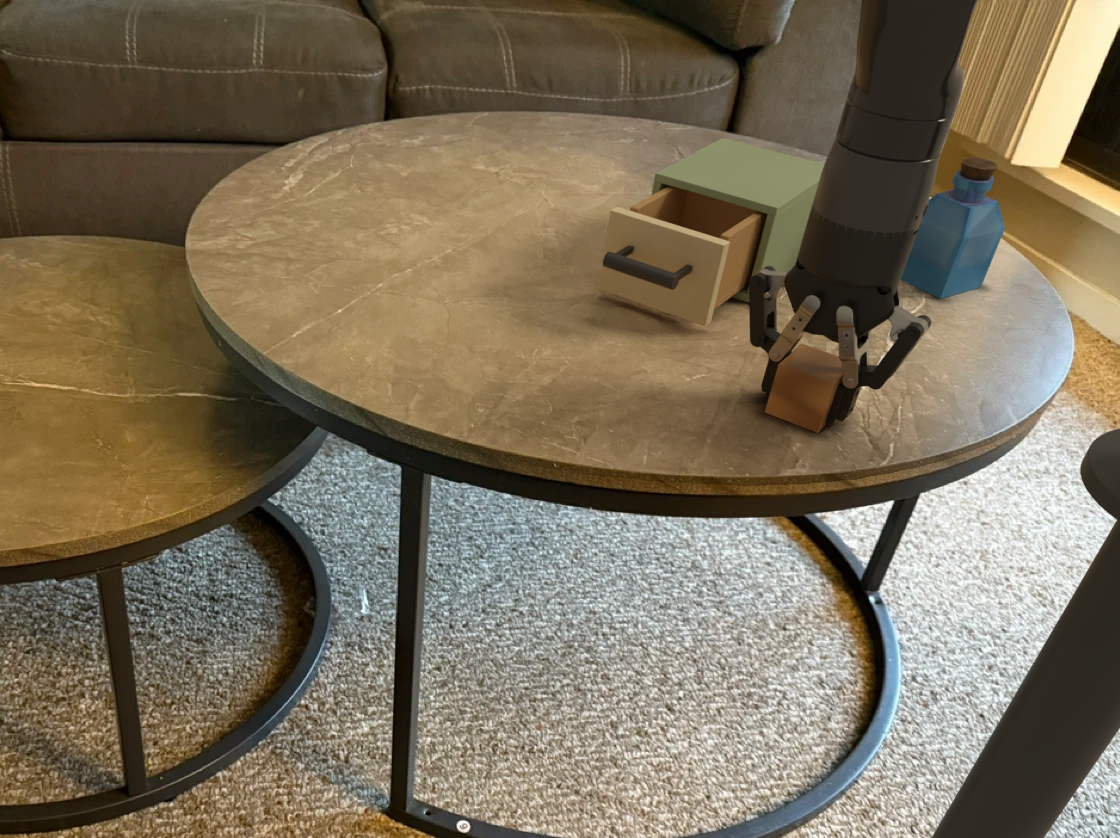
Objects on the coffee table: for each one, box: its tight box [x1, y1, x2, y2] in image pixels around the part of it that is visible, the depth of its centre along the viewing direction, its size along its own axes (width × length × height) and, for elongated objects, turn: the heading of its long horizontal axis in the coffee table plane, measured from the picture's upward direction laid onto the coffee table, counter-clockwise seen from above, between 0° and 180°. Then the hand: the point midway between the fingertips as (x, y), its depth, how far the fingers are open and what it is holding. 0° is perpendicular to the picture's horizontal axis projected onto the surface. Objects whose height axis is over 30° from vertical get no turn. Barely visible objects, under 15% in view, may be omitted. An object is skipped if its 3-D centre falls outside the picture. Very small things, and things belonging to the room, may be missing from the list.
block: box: [764, 343, 842, 434], centre depth 86 cm, size 5×5×5 cm
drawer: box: [597, 186, 768, 327], centre depth 100 cm, size 18×11×8 cm, turn 141°
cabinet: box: [651, 137, 825, 304], centre depth 107 cm, size 15×13×10 cm
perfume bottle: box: [900, 157, 1006, 300], centre depth 104 cm, size 6×6×12 cm
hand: (803, 408), depth 87 cm, fingers closed on block, 4 cm apart
